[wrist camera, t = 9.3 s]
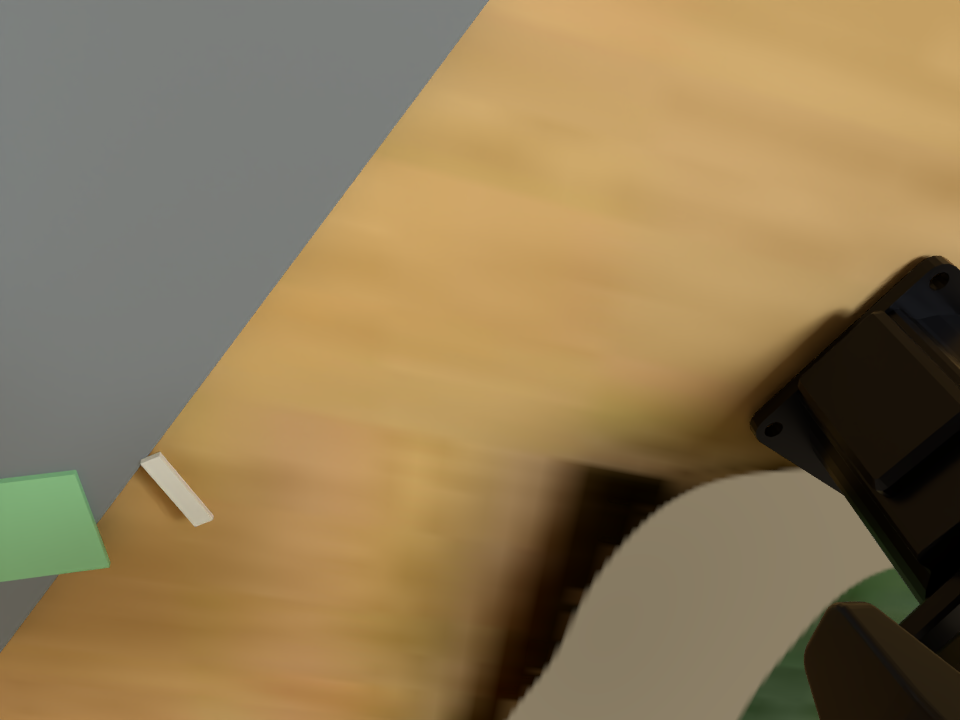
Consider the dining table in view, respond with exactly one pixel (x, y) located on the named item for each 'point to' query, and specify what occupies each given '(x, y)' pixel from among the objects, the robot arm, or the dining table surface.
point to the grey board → (162, 223)
